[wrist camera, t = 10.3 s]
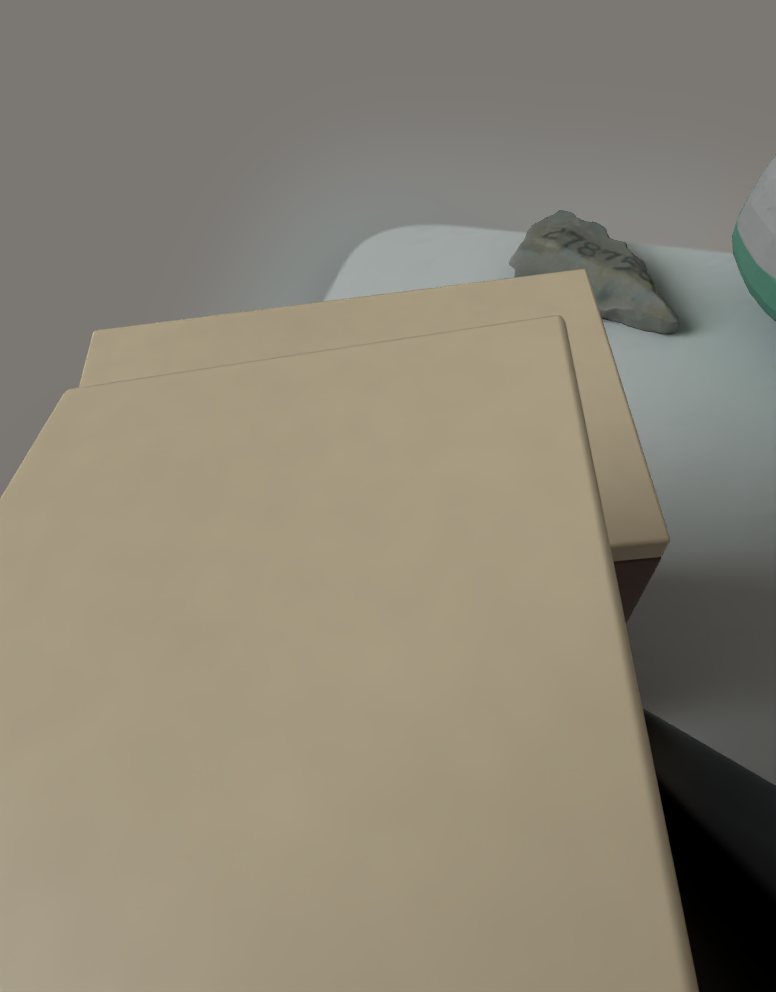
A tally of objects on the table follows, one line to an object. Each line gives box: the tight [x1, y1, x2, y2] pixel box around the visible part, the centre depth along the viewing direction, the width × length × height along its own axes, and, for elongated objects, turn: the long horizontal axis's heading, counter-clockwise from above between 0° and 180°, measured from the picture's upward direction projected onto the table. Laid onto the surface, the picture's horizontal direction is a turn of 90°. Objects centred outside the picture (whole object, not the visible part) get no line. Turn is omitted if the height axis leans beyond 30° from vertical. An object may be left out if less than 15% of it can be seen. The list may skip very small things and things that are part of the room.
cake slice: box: [0, 315, 699, 992], centre depth 9 cm, size 7×5×14 cm
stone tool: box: [509, 210, 679, 334], centre depth 30 cm, size 9×2×5 cm
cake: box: [79, 269, 670, 623], centre depth 17 cm, size 6×10×14 cm, turn 93°
